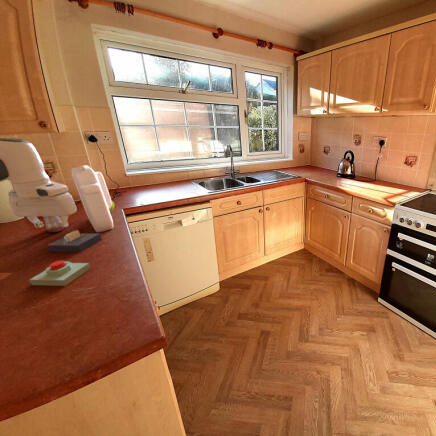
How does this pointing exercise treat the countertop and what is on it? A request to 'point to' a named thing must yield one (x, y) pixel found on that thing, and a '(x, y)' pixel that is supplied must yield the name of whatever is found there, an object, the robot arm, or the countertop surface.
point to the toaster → (94, 197)
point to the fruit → (111, 207)
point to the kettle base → (60, 274)
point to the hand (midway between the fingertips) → (52, 226)
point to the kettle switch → (57, 265)
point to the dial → (72, 236)
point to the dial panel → (74, 243)
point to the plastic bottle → (52, 223)
